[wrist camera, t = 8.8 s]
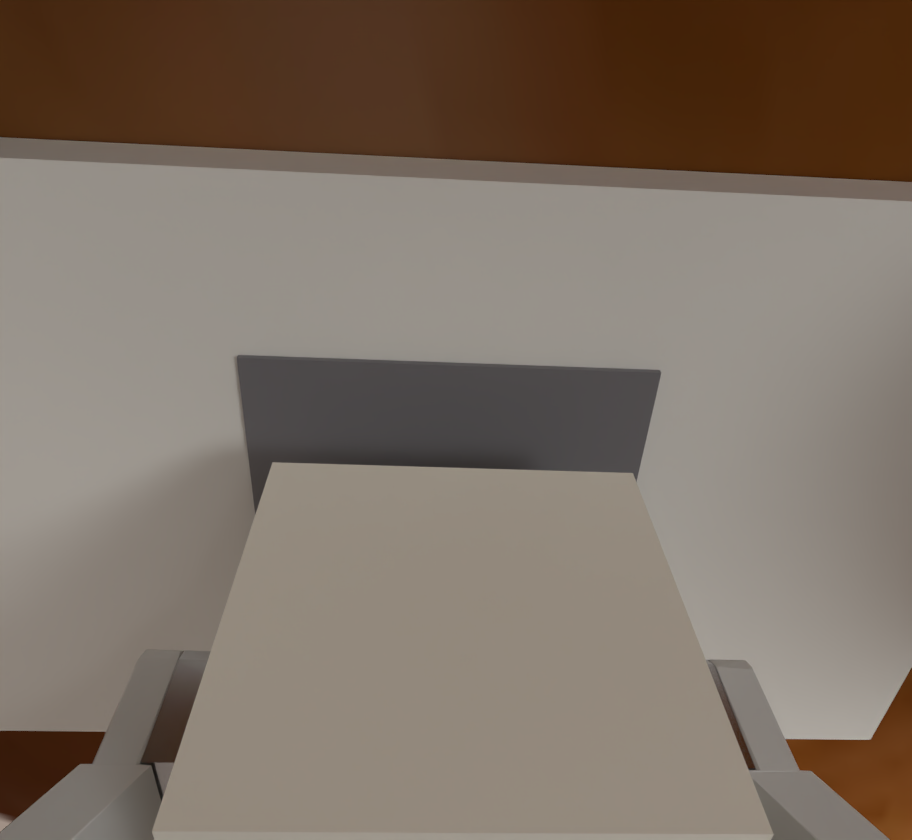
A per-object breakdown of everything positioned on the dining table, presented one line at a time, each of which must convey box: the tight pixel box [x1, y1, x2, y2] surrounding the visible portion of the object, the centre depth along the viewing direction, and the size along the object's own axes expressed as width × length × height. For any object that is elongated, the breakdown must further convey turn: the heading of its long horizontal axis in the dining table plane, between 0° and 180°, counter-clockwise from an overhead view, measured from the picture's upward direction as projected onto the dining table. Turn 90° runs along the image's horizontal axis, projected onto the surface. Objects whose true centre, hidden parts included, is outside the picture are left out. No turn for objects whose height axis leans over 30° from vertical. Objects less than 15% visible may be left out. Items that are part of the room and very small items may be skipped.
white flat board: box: [0, 137, 912, 740], centre depth 13 cm, size 20×12×1 cm, turn 87°
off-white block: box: [152, 462, 774, 840], centre depth 9 cm, size 5×5×5 cm
